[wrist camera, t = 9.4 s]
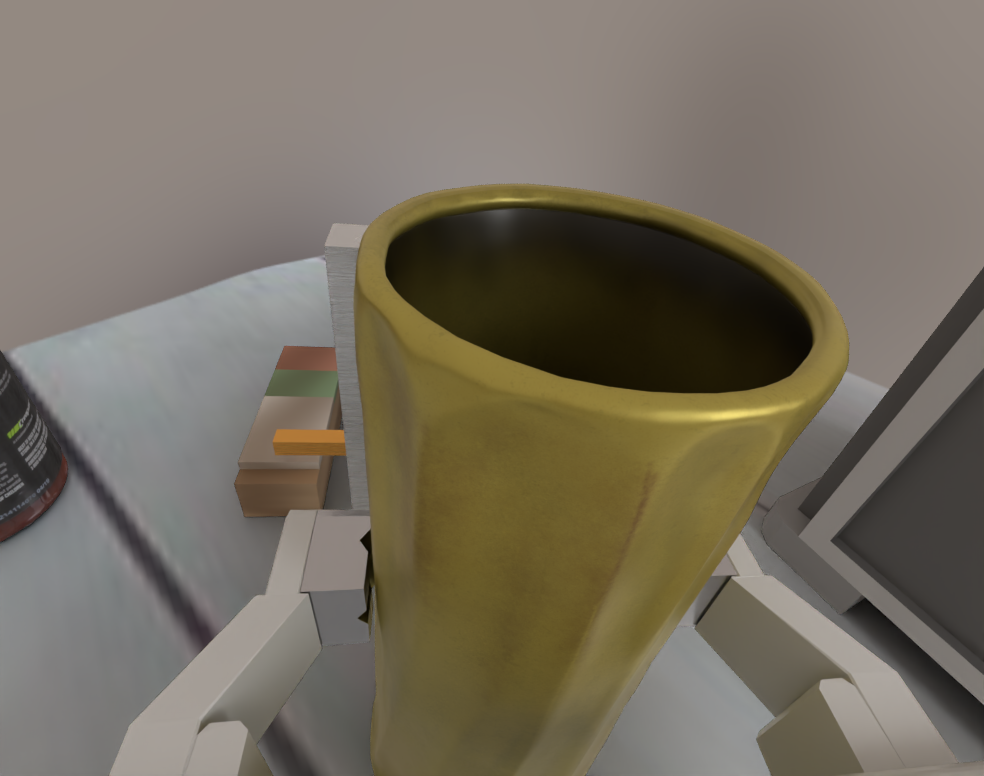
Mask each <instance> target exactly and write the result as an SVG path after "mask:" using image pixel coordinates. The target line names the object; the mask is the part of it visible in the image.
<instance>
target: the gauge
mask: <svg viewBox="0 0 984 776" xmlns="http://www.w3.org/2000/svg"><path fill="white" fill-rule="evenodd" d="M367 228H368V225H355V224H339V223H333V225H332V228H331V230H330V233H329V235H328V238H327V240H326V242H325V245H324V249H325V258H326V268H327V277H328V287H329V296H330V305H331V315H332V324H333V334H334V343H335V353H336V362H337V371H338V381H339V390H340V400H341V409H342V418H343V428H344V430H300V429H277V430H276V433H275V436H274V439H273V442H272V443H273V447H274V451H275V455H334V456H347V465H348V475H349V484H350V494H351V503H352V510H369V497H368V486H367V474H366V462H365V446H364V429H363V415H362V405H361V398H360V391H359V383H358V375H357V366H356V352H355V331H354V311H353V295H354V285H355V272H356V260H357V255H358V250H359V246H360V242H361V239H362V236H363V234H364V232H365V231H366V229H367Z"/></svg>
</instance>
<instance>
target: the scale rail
mask: <svg viewBox="0 0 984 776" xmlns="http://www.w3.org/2000/svg"><path fill="white" fill-rule="evenodd" d="M341 418H342V409H341V400H340V390H339V381H338V371H337V362H336V353H335V348H332V347H302V346H284V348H283V351H282V353H281V356H280V358H279V361H278V363H277V366H276V368H275V371H274V373H273V376H272V378H271V381H270V383H269V386H268V388H267V391H266V393H265V396H264V398H263V401H262V403H261V406H260V408H259V411H258V413H257V416H256V418H255V421H254V423H253V426H252V428H251V431H250V433H249V436H248V438H247V441H246V443H245V446H244V448H243V450H242V453H241V455H240V458H239V460H238V465H239V468H240V470H239V473H238V475H237V478H236V481H235V483H234V485H235V488H236V492H237V495H238V498H239V501H240V504H241V507H242V510H243V513H244V516H245V517H265V516H287V515H288V513H289V511H290V510H323V507H324V502H325V497H326V492H327V487H328V482H329V477H330V472H331V467H332V463H333V458H334V455H275V451H274V447H273V443H272V442H273V439H274V436H275V433H276V430H277V429H300V430H339V428H340V423H341Z"/></svg>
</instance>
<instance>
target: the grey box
mask: <svg viewBox="0 0 984 776" xmlns="http://www.w3.org/2000/svg"><path fill="white" fill-rule="evenodd" d="M761 532H762V534H763V536H764V538H765V541H766V543H767V545H768V546H769V547H770V548H771V549H772V550H773V551H774V552H775V553H776V554H777V555H779V556H780V557H781V558H782V559H783V560H784V561H785V562H786V563H787V564H788V565H789V566H790V567H791V568H792V569H793V570H794V571H795V572H796V573H797V574H798V575H799V576H800V577H801V578H802V579H803V580H804V581H805V582H806V583H807V584H808V585H810V586H811V587H812V588H813V589H814V590H815V591H816V592H817V593H818V594H819V595H820V596H821V597H822V598H823V599H824V600H825V601H826V602H827V603H828V604H829V605H830V606H831V607H832V608H833V609H834V610H835V611H836V612H837V613H838V614H839V615H841V614H843V613H844V612H845V611H847V610H848V609H850V608H851V607H853V606H854V605H856V604H857V603H859V602H860V601H862V600H863V599H864V598H867V599H868V600H869V601H870V602H871V603H872V604H873V605H874V606H875V607H876V608H878V609H879V610H880V611H881V612H882V613H883V614H884V615H885V616H886V617H887V618H889V619H890V620H891V621H892V622H893V623H894V624H895V625H896V626H897V627H898V628H900V629H901V630H902V631H903V632H904V633H905V634H906V635H907V636H908V637H909V638H911V639H912V640H913V641H914V642H915V643H916V644H917V645H918V646H919V647H921V648H922V649H923V650H924V651H925V652H926V653H927V654H928V655H929V656H930V657H932V658H933V659H934V660H935V661H936V662H937V663H938V664H939V665H940V666H941V667H943V668H944V669H945V670H946V671H947V672H948V673H949V674H950V675H951V676H952V677H954V678H955V679H956V680H957V681H958V682H959V683H960V684H961V685H962V686H963V687H965V688H966V689H967V690H968V691H969V692H970V693H971V694H972V695H973V696H974V697H976V698H977V699H978V700H979V701H980V702H981V703H982V704H983V705H984V267H983V269H982V270H981V271H980V273H979V274H978V275H977V277H976V278H975V279H974V280H973V282H972V283H971V284H970V286H969V287H968V288H967V289H966V291H965V292H964V293H963V295H962V296H961V297H960V299H959V300H958V301H957V302H956V304H955V305H954V307H953V308H952V309H951V311H950V312H949V313H948V314H947V315H946V317H945V318H944V319H943V321H942V322H941V323H940V325H939V326H938V327H937V329H936V330H935V331H934V332H933V334H932V335H931V336H930V338H929V339H928V340H927V341H926V343H925V344H924V345H923V347H922V348H921V349H920V351H919V352H918V353H917V355H916V356H915V357H914V358H913V360H912V361H911V362H910V364H909V365H908V366H907V367H906V369H905V370H904V371H903V373H902V374H901V375H900V377H899V378H898V379H897V381H896V382H895V383H894V384H893V386H892V387H891V388H890V390H889V391H888V392H887V393H886V395H885V396H884V397H883V399H882V400H881V401H880V403H879V404H878V405H877V406H876V408H875V409H874V410H873V412H872V413H871V414H870V416H869V417H868V418H867V419H866V421H865V422H864V423H863V425H862V426H861V427H860V429H859V430H858V431H857V432H856V434H855V435H854V436H853V438H852V439H851V440H850V442H849V443H848V444H847V445H846V447H845V448H844V449H843V451H842V452H841V453H840V455H839V456H838V457H837V458H836V460H835V461H834V462H833V464H832V465H831V466H830V467H829V469H828V470H827V471H826V473H825V474H824V475H823V477H821V478H819V479H817V480H815V481H812V482H810V483H808V484H806V485H804V486H802V487H800V488H798V489H796V490H794V491H791V492H789V493H787V494H785V495H783V496H781V497H779V498H778V500H777V501H776V503H775V504H774V505H773V507H772V508H771V509H770V511H769V512H768V514H767V515H766V516H765V518H764V520H763V525H762V530H761Z"/></svg>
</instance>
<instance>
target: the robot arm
mask: <svg viewBox="0 0 984 776" xmlns="http://www.w3.org/2000/svg"><path fill="white" fill-rule="evenodd" d="M374 585H375V579H374V567H373V555H372V541H371V524H370V510H290V511H289V513H288V515H287V517H286V518H285V522H284V526H283V529H282V533H281V537H280V540H279V544H278V548H277V551H276V555H275V559H274V562H273V566H272V569H271V573H270V577H269V580H268V584H267V588H266V591H265V594H264V595H255V596H254V597H253V598H252V599H251V600H250V602H249V603H248V604H247V605H246V606H245V607H244V608H243V609H242V610H241V611H240V612H239V613H238V614H237V615H236V616H235V617H234V618H233V619H232V620H231V621H230V622H229V623H228V624H227V625H226V626H225V627H224V628H223V629H222V630H221V631H220V632H219V633H218V634H217V636H216V637H215V638H214V639H213V640H212V641H211V642H210V643H209V644H208V645H207V646H206V647H205V648H204V649H203V650H202V651H201V652H200V653H199V654H198V655H197V656H196V657H195V658H194V659H193V660H192V661H191V662H190V663H189V664H188V665H187V666H186V667H185V668H184V670H183V671H182V672H181V673H180V674H179V675H178V676H177V677H176V678H175V679H174V680H173V681H172V682H171V683H170V684H169V685H168V686H167V687H166V688H165V689H164V690H163V691H162V692H161V693H160V694H159V695H158V696H157V697H156V698H155V699H154V700H153V701H152V702H151V704H150V705H149V706H148V707H147V708H146V709H145V710H144V711H143V712H142V713H141V714H140V715H139V716H138V717H137V718H136V719H135V720H134V721H133V722H132V723H131V724H130V725H129V728H128V730H127V732H126V735H125V737H124V740H123V742H122V745H121V747H120V749H119V752H118V754H117V757H116V759H115V762H114V764H113V766H112V769H111V771H110V774H109V776H273V774H272V772H271V771H270V769H269V767H268V765H267V763H266V762H265V760H264V758H263V756H262V754H261V752H260V751H259V749H258V747H257V745H256V744H257V743H258V742H259V740H260V739H261V737H262V736H263V734H264V733H265V731H266V730H267V729H268V727H269V726H270V724H271V723H272V721H273V720H274V718H275V717H276V715H277V714H278V713H279V711H280V710H281V708H282V707H283V705H284V704H285V702H286V701H287V699H288V698H289V697H290V695H291V694H292V692H293V691H294V689H295V688H296V686H297V685H298V683H299V682H300V681H301V679H302V678H303V676H304V675H305V673H306V672H307V670H308V669H309V667H310V666H311V665H312V663H313V662H314V660H315V659H316V657H317V656H318V654H319V653H320V651H321V650H322V648H321V646H330V645H343V644H355V643H368V642H370V635H371V625H372V614H373V598H372V587H373V586H374ZM692 626H696V627H695V630H696V631H697V632H698V633H699V634H700V635H701V636H702V637H703V639H704V640H705V641H706V642H707V643H708V644H709V645H710V646H711V647H712V648H713V649H714V651H715V652H716V653H717V654H718V655H719V656H720V657H721V658H722V659H723V660H724V661H725V663H726V664H727V665H728V666H729V667H730V668H731V669H732V670H733V671H734V672H735V674H736V675H737V676H738V677H739V678H740V679H741V680H742V681H743V682H744V683H745V684H746V686H747V687H748V688H749V689H750V690H751V691H752V692H753V693H754V694H755V695H756V696H757V698H758V699H759V700H760V701H761V702H762V703H763V704H764V705H765V706H766V707H767V709H768V710H769V711H770V712H771V713H772V714H773V715H774V716H775V717H776V718H775V719H773V720H772V721H771V722H770V723H769V724H768V725H766V726H765V727H764V728H763V729H762V730H760V731H759V734H758V736H757V738H756V740H757V743H758V745H759V748H760V750H761V752H762V755H763V757H764V759H765V762H766V764H767V766H768V769H769V771H770V773H771V776H984V760H983V761H973V762H963V763H959V762H958V760H957V759H956V757H955V756H954V754H953V753H952V751H951V750H950V748H949V747H948V745H947V744H946V742H945V741H944V740H943V738H942V737H941V735H940V734H939V732H938V731H937V729H936V728H935V726H934V725H933V723H932V722H931V720H930V719H929V718H928V716H927V715H926V713H925V712H924V710H923V709H922V707H921V706H920V704H919V703H918V701H917V700H916V699H915V697H914V696H913V694H912V693H911V691H910V690H909V688H908V687H907V685H906V684H905V682H904V681H903V679H902V678H901V677H900V675H899V674H898V672H897V671H895V670H894V669H893V668H891V667H890V666H889V665H887V664H886V663H885V662H884V661H882V660H881V659H880V658H878V657H877V656H876V655H874V654H873V653H872V652H871V651H869V650H868V649H867V648H865V647H864V646H863V645H862V644H860V643H859V642H858V641H856V640H855V639H854V638H852V637H851V636H850V635H849V634H847V633H846V632H845V631H843V630H842V629H841V628H839V627H838V626H837V625H836V624H834V623H833V622H832V621H830V620H829V619H828V618H826V617H825V616H824V615H823V614H821V613H820V612H819V611H817V610H816V609H815V608H813V607H812V606H811V605H810V604H808V603H807V602H806V601H804V600H803V599H802V598H801V597H799V596H798V595H797V594H795V593H794V592H793V591H791V590H790V589H789V588H788V587H786V586H785V585H784V584H782V583H781V582H780V581H778V580H777V579H776V578H775V577H773V576H772V575H764V573H763V572H762V570H761V568H760V567H759V565H758V563H757V561H756V560H755V558H754V556H753V554H752V553H751V551H750V549H749V548H748V546H747V544H746V542H745V541H744V539H743V537H742V535H741V534H739V536H738V537H737V539H736V540H735V542H734V543H733V545H732V546H731V547H730V549H729V550H728V552H727V553H726V555H725V556H724V558H723V559H722V560H721V562H720V563H719V565H718V566H717V568H716V569H715V571H714V572H713V574H712V575H711V576H710V578H709V579H708V581H707V582H706V584H705V585H704V587H703V588H702V590H701V591H700V593H699V594H698V596H697V597H696V599H695V600H694V602H693V603H692V605H691V606H690V608H689V609H688V611H687V612H686V613H685V615H684V616H683V618H682V619H681V621H680V622H679V624H678V625H677V627H692Z"/></svg>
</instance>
